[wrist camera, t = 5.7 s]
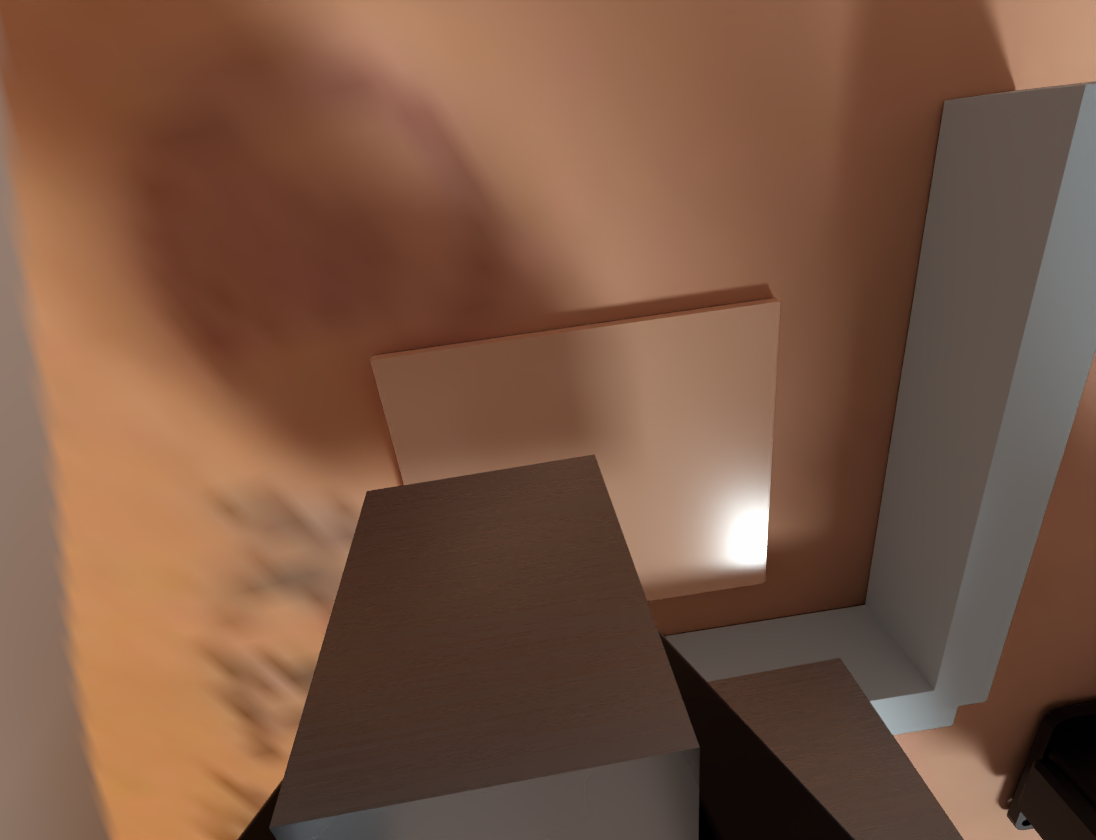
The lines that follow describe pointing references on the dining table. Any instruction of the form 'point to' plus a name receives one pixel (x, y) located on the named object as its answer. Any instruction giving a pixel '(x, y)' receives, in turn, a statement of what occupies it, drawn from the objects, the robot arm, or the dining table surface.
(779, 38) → the dining table surface
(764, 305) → the tile
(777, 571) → the dining table surface
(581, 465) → the bracket
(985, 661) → the corner wall
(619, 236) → the dining table surface
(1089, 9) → the dining table surface
